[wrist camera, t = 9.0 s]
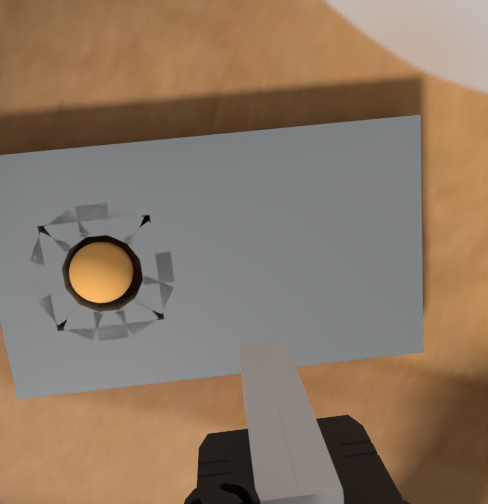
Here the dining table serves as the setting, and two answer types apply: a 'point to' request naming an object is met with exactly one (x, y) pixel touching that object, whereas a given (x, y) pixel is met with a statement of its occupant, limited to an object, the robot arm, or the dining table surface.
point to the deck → (214, 253)
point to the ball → (101, 272)
